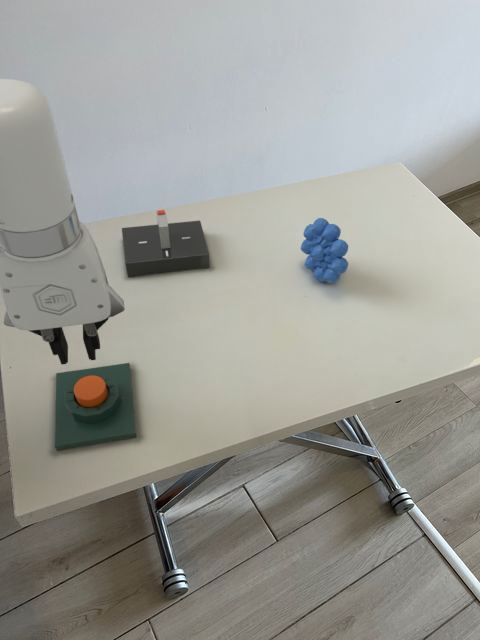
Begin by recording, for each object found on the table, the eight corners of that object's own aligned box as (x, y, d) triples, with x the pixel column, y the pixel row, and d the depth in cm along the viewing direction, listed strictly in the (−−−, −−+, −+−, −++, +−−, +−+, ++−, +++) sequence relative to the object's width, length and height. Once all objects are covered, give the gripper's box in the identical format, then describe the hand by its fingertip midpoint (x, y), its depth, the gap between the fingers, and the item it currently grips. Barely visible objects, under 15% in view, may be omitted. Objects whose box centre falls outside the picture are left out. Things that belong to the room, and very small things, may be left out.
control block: (56, 451, 67) (50, 438, 65) (58, 378, 75) (52, 364, 73) (136, 437, 69) (133, 424, 67) (130, 367, 77) (127, 354, 74)
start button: (76, 410, 68) (73, 402, 67) (76, 385, 71) (73, 377, 70) (108, 405, 69) (106, 397, 68) (107, 381, 72) (104, 373, 70)
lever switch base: (127, 277, 90) (125, 262, 87) (124, 241, 96) (121, 227, 94) (209, 268, 92) (209, 253, 90) (200, 233, 99) (200, 219, 96)
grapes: (359, 292, 90) (374, 234, 81) (326, 304, 88) (337, 245, 79) (321, 253, 96) (331, 195, 87) (290, 263, 94) (296, 205, 85)
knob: (170, 248, 90) (168, 225, 87) (161, 249, 90) (158, 225, 87) (167, 232, 93) (164, 209, 90) (158, 233, 93) (156, 209, 90)
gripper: (-62, 259, 46) (4, 388, 60) (127, 240, 49) (149, 367, 63) (-50, 210, 51) (9, 340, 65) (122, 196, 54) (144, 322, 68)
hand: (78, 352), depth 64 cm, fingers closed
